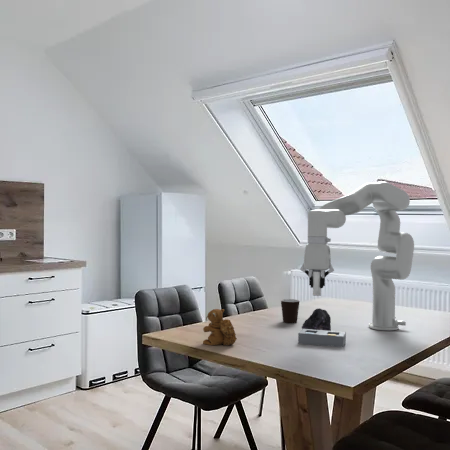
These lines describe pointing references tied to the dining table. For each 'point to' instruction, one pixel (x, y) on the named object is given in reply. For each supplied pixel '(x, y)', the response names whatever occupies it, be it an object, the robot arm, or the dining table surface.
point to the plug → (316, 282)
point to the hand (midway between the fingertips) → (317, 287)
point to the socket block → (322, 337)
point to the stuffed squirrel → (219, 329)
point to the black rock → (318, 321)
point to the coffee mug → (290, 310)
